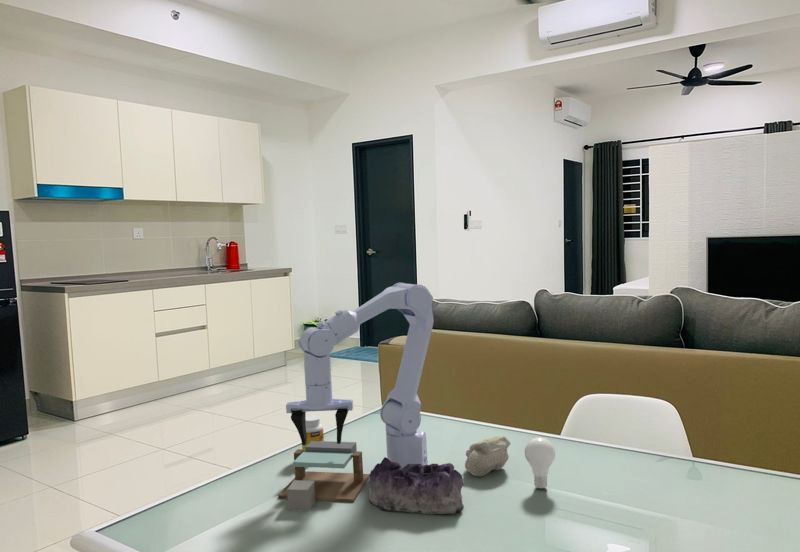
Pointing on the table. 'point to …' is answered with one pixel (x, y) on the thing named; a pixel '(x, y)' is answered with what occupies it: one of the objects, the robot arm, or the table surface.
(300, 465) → the trapdoor
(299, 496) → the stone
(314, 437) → the supplement bottle
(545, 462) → the lightbulb
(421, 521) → the table surface
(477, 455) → the fossil replica
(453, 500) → the geode
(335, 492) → the frame
